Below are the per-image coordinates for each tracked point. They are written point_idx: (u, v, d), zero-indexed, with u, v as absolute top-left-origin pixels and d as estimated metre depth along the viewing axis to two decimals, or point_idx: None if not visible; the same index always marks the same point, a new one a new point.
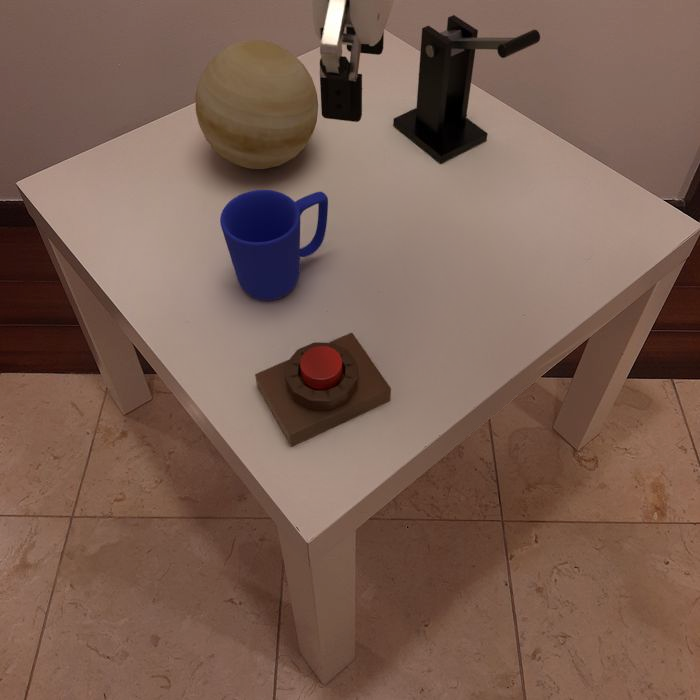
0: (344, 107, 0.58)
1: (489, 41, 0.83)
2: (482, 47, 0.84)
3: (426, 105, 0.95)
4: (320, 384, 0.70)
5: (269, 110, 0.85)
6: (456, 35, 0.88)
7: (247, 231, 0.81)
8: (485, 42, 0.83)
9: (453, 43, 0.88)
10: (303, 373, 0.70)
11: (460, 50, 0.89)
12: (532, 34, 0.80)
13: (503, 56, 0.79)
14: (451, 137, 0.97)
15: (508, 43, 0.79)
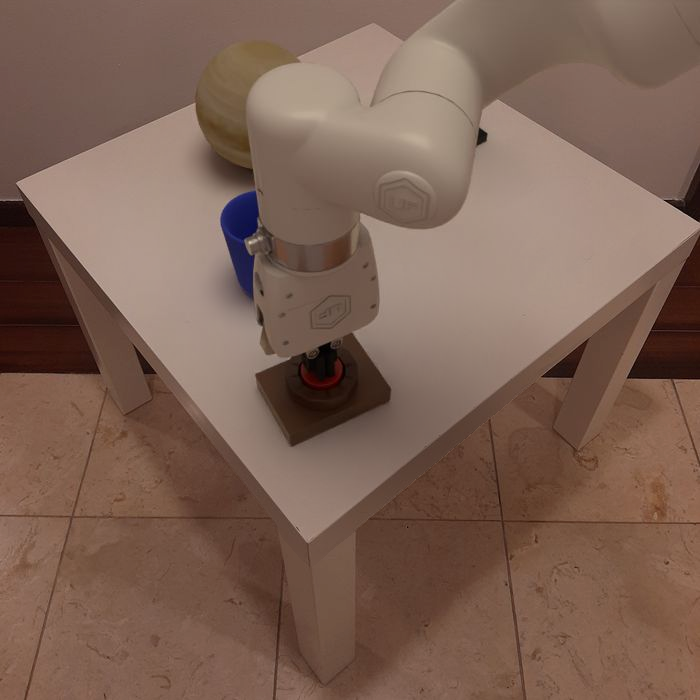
0: (307, 367, 0.69)
1: None
2: None
3: None
4: None
5: None
6: None
7: (247, 231, 0.81)
8: None
9: None
10: (304, 379, 0.71)
11: None
12: None
13: None
14: None
15: None
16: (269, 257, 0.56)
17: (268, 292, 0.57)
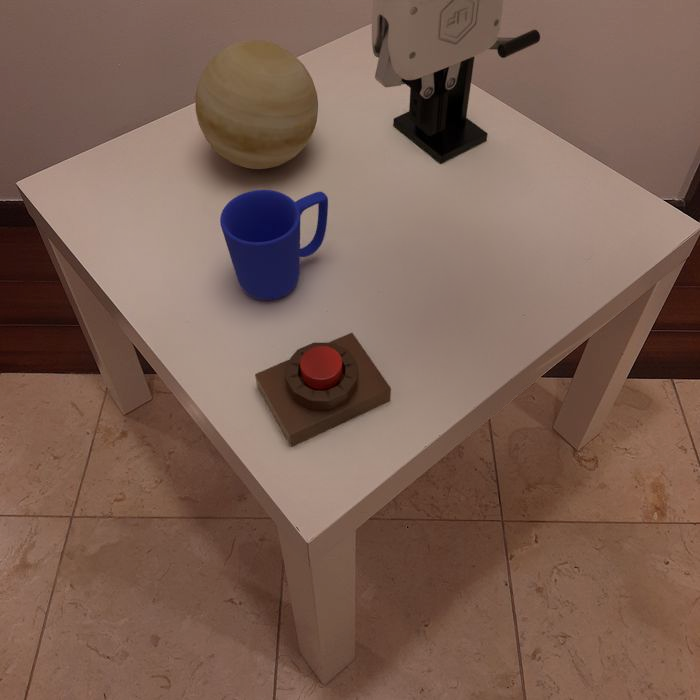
0: (417, 117, 0.65)
1: None
2: None
3: None
4: (320, 384, 0.70)
5: (269, 110, 0.85)
6: None
7: (247, 231, 0.81)
8: None
9: None
10: (303, 373, 0.70)
11: None
12: (532, 34, 0.80)
13: (503, 56, 0.79)
14: (451, 137, 0.97)
15: (508, 43, 0.79)
16: None
17: None
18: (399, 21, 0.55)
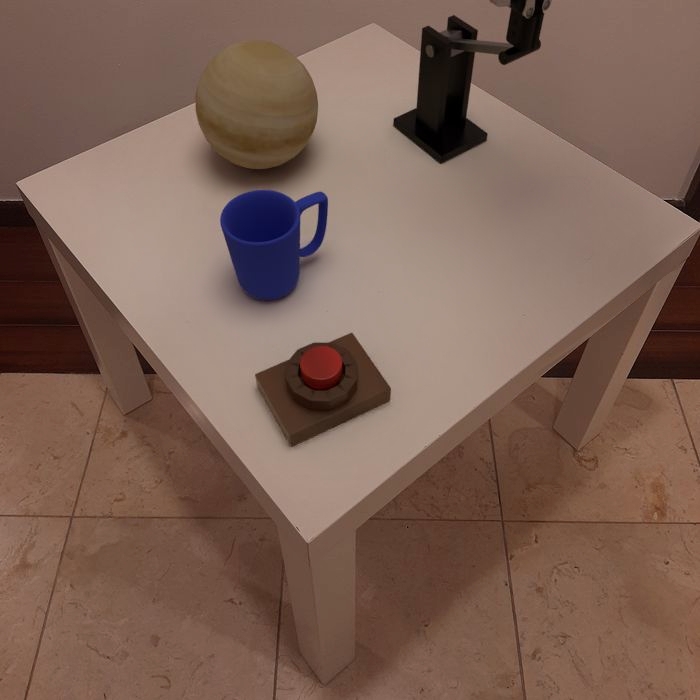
0: (516, 36, 0.78)
1: (490, 46, 0.83)
2: (482, 51, 0.84)
3: (426, 105, 0.95)
4: (320, 384, 0.70)
5: (269, 110, 0.85)
6: (456, 36, 0.88)
7: (247, 231, 0.81)
8: (486, 46, 0.83)
9: (453, 44, 0.88)
10: (303, 373, 0.70)
11: (460, 51, 0.89)
12: None
13: (504, 63, 0.80)
14: (451, 137, 0.97)
15: (509, 50, 0.79)
16: None
17: None
18: None
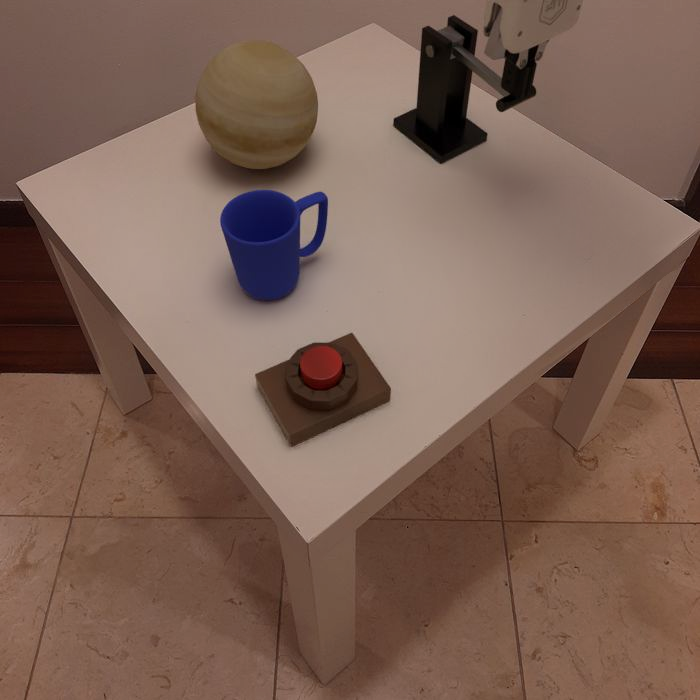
0: (510, 84, 0.82)
1: (489, 77, 0.85)
2: (481, 76, 0.87)
3: (426, 105, 0.95)
4: (320, 384, 0.70)
5: (269, 110, 0.85)
6: (458, 42, 0.88)
7: (247, 231, 0.81)
8: (485, 75, 0.86)
9: (454, 50, 0.88)
10: (303, 373, 0.70)
11: None
12: None
13: (499, 110, 0.84)
14: (451, 137, 0.97)
15: (508, 101, 0.83)
16: None
17: None
18: (513, 7, 0.72)
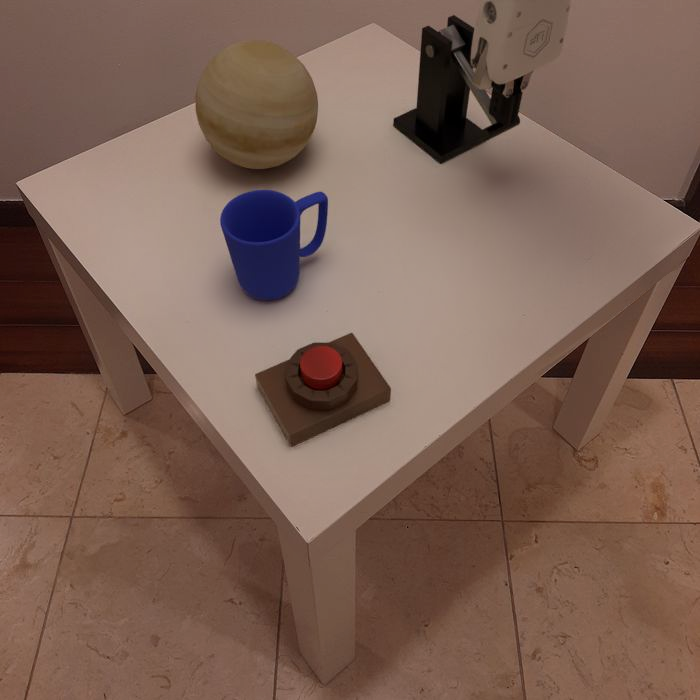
0: (497, 111, 0.86)
1: (481, 98, 0.88)
2: (473, 92, 0.89)
3: (426, 105, 0.95)
4: (320, 384, 0.70)
5: (269, 110, 0.85)
6: (459, 48, 0.89)
7: (247, 231, 0.81)
8: (478, 94, 0.89)
9: (452, 55, 0.89)
10: (303, 373, 0.70)
11: None
12: (514, 124, 0.89)
13: (484, 137, 0.88)
14: (451, 137, 0.97)
15: (493, 132, 0.88)
16: None
17: (502, 13, 0.73)
18: (498, 42, 0.75)
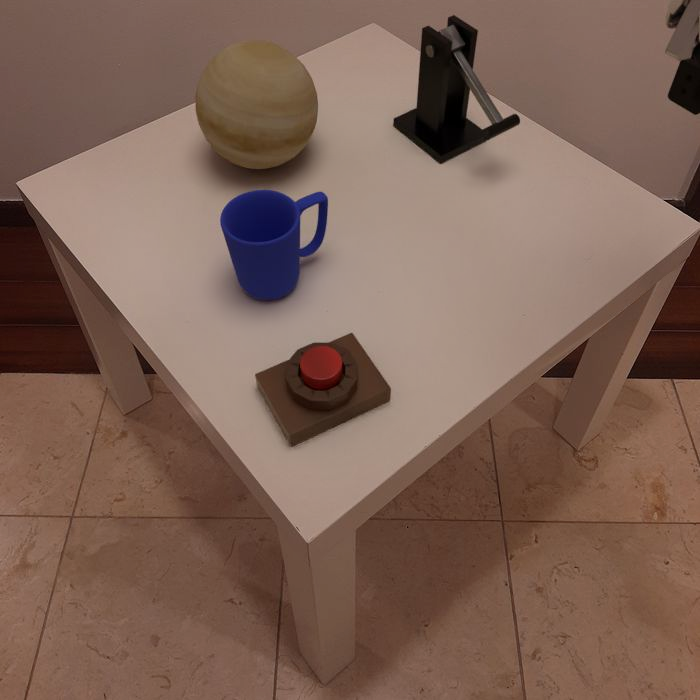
0: (687, 94, 0.59)
1: (481, 98, 0.88)
2: (473, 92, 0.89)
3: (426, 105, 0.95)
4: (320, 384, 0.70)
5: (269, 110, 0.85)
6: (459, 48, 0.89)
7: (247, 231, 0.81)
8: (478, 94, 0.89)
9: (452, 55, 0.89)
10: (303, 373, 0.70)
11: None
12: (514, 124, 0.89)
13: (484, 137, 0.88)
14: (451, 137, 0.97)
15: (493, 132, 0.88)
16: None
17: None
18: None
